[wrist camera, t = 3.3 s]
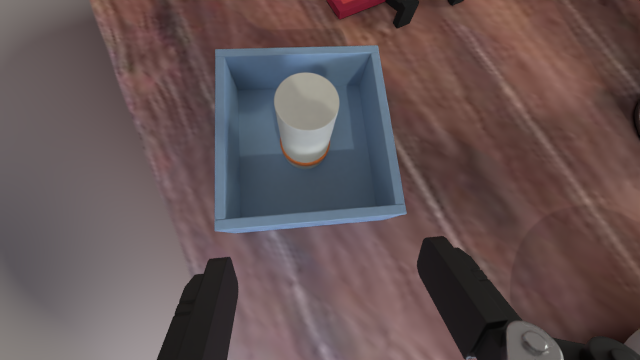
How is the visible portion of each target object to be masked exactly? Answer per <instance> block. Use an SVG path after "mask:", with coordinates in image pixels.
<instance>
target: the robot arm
mask: <svg viewBox="0 0 640 360" xmlns="http://www.w3.org/2000/svg"><path fill="white" fill-rule="evenodd" d="M635 124H636V127H637V130H638V132H639V134H640V101H639V103H638V104H637V106H636V109H635ZM417 269H418V273H419V276H420V278H421V280H422V282H423V283H424V285H425V287H426V289H427V291H428V293H429V295H430V296H431V298H432V300H433V302H434V304H435V306H436V307H437V309H438V311H439V313H440V315H441V317H442V319H443V320H444V322H445V324H446V326H447V328H448V330H449V332H450V333H451V335H452V337H453V339H454V341H455V343H456V345H457V346H458V348H459V350H460V352H461V354H462V356H463V358H464V359H472V358H477V360H640V355H639V354H638V353H636V352H635V351H634V350H632V349H631V348H629V347H628V346H626V345H624V344H622V343H620V342H618V341H616V340H614V339H611V338H608V337H603V336H596V337H593V338H591V339H590V340H589V341H588V342H587V343H586V344H581V343H576V342H571V341H566V340H561V339H556V338H552V337H551V336H550V335H549V334H547V333H546V332H545V331H544V330H542V329H541V328H539V327H537V326H536V325H534V324H531V323H529V322H525V321H523V320H522V319H521V318H520V317H519V316H518V315H517V313H516V312H515V311H514V310H513V308H512V307H511V306H510V305H509V303H508V302H507V301H506V300H505V299H504V297H503V296H502V295H501V294H500V292H499V291H498V290H497V289H496V287H495V286H494V285H493V284H492V282H491V281H490V280H488V279H487V276H486V275H485V274H484V273H483V271H482V270H480V268H479V266H478V265H477V264H476V263H475V261H474V260H473V259H472V258H471V257H470V256H469V255H468V254H466V253H465V252H464V251H462V250H461V249H460V248H454V247H453V246H452V245H451V243H450V242H449V241H448V240H447V238H445V237H444V236H439V237H429V238H424V240H423V243H422V246H421V250H420V254H419V257H418V261H417ZM237 299H238V281H237V277H236V274H235V271H234V267H233V264H232V260H231V258H230V257H224V258H214V259H209V260H208V262H207V265H206V268H205V271H204V274H197V275H194V276H193V278H192V279H191V280H190V281H189V283H188V284H187V285H186V286H185V288H184V290H183V293H182V296H181V298H180V301H179V304H178V306H177V308H176V311H175V316H174V317H173V319H172V322H171V324H170V327H169V329H168V332H167V334H166V337H165V340H164V342H163V345H162V348H161V350H160V353H159V355H158V358H157V360H227V356H228V350H229V344H230V339H231V333H232V327H233V322H234V316H235V310H236V304H237Z"/></svg>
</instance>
